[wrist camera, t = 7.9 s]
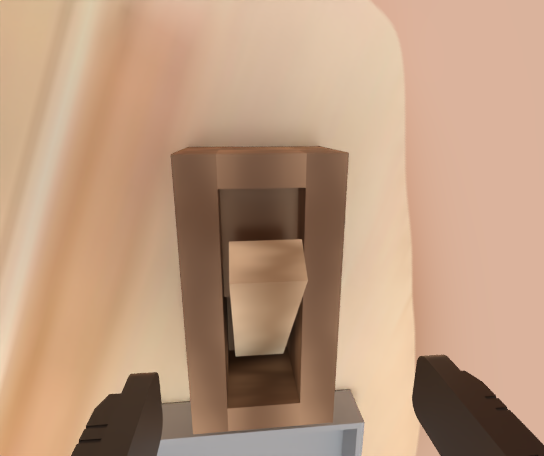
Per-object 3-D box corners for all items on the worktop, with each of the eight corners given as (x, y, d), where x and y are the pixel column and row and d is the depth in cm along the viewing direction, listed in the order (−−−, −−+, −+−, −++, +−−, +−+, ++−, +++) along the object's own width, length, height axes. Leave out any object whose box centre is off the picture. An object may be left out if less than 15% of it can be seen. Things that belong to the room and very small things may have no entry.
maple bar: (234, 326, 30) (235, 356, 29) (228, 241, 19) (229, 283, 17) (280, 324, 31) (283, 353, 29) (301, 239, 19) (307, 280, 18)
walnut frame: (202, 367, 32) (193, 434, 25) (187, 147, 26) (170, 154, 19) (312, 359, 33) (332, 422, 26) (319, 146, 27) (348, 152, 20)
